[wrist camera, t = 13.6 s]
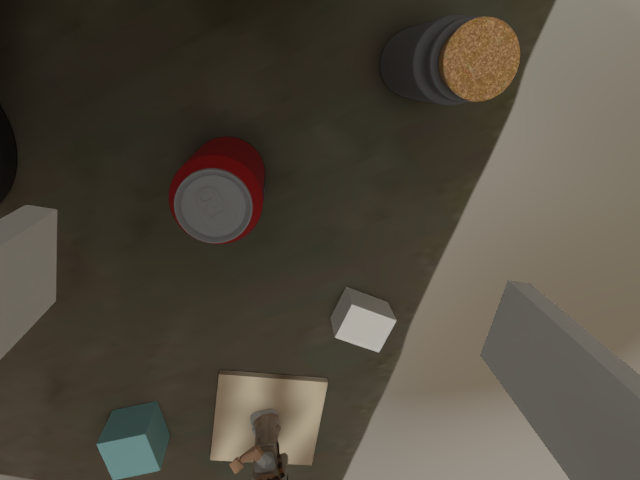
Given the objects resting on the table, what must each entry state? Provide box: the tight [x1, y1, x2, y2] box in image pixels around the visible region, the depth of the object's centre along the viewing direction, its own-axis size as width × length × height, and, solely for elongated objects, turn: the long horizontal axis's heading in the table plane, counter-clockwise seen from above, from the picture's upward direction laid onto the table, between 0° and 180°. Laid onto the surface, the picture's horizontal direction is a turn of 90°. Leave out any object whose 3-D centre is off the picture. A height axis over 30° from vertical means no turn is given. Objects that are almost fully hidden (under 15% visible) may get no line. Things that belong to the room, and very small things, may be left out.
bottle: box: [380, 15, 520, 105], centre depth 34 cm, size 6×6×15 cm
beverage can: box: [169, 137, 265, 244], centre depth 37 cm, size 7×7×12 cm
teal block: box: [96, 401, 170, 480], centre depth 49 cm, size 5×5×5 cm
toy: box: [229, 409, 288, 480], centre depth 45 cm, size 6×6×15 cm
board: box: [210, 370, 328, 465], centre depth 53 cm, size 12×12×1 cm
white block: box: [330, 287, 397, 352], centre depth 48 cm, size 5×4×4 cm
